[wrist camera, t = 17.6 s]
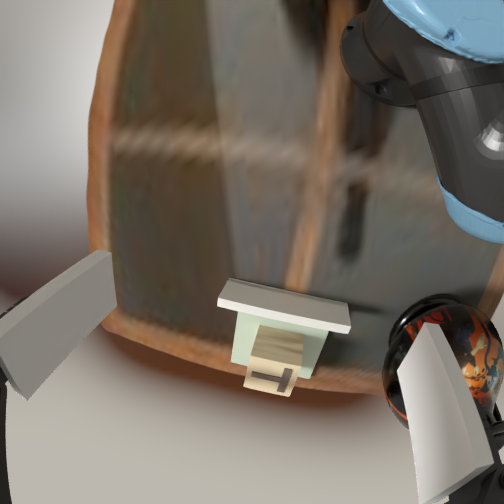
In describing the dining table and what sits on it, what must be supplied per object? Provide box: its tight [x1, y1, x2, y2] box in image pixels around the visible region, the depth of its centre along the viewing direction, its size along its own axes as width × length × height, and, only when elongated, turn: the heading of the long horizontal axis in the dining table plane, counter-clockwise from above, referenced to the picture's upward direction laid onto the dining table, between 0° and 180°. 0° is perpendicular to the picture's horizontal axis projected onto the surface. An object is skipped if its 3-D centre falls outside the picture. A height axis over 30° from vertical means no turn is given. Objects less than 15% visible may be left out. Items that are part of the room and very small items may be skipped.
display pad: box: [231, 311, 329, 379], centre depth 50 cm, size 14×16×1 cm
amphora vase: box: [382, 295, 504, 451], centre depth 31 cm, size 22×22×28 cm
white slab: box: [217, 278, 351, 334], centre depth 44 cm, size 3×20×6 cm, turn 81°
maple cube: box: [244, 325, 304, 396], centre depth 46 cm, size 8×8×8 cm
